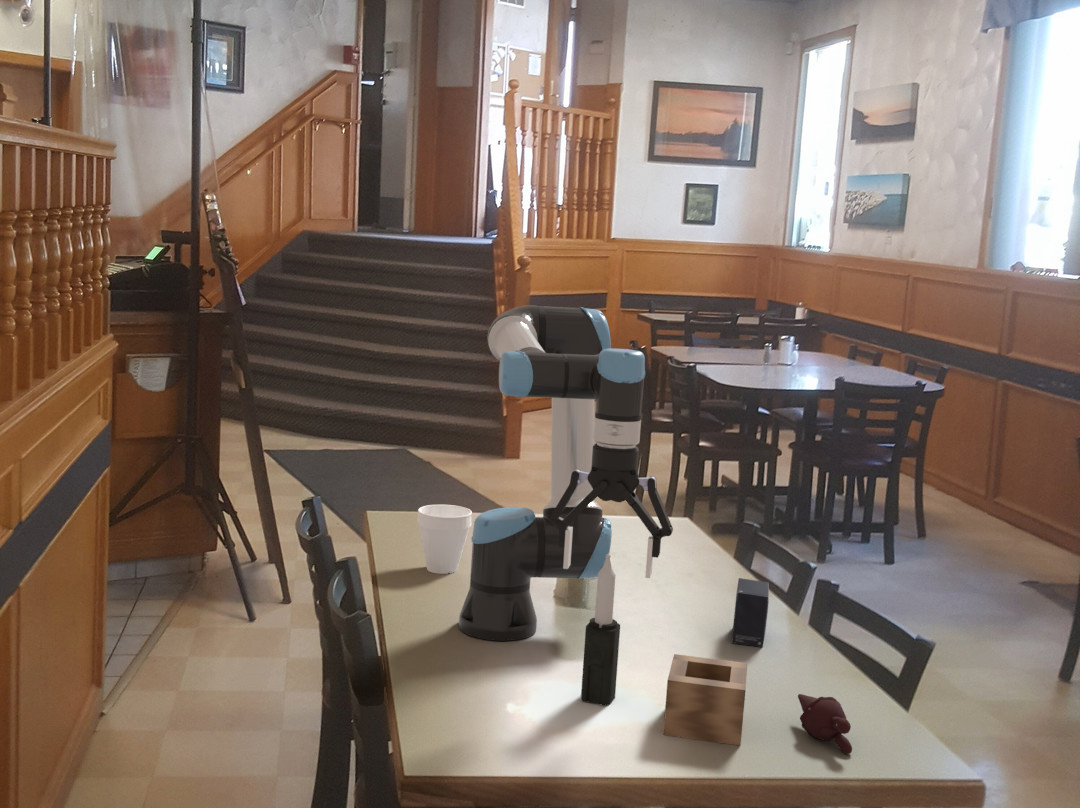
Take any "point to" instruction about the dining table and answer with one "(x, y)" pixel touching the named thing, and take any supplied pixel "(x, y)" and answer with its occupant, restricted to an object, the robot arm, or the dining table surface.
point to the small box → (750, 612)
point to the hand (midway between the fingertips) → (607, 571)
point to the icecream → (825, 720)
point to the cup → (443, 535)
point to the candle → (601, 643)
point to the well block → (705, 699)
